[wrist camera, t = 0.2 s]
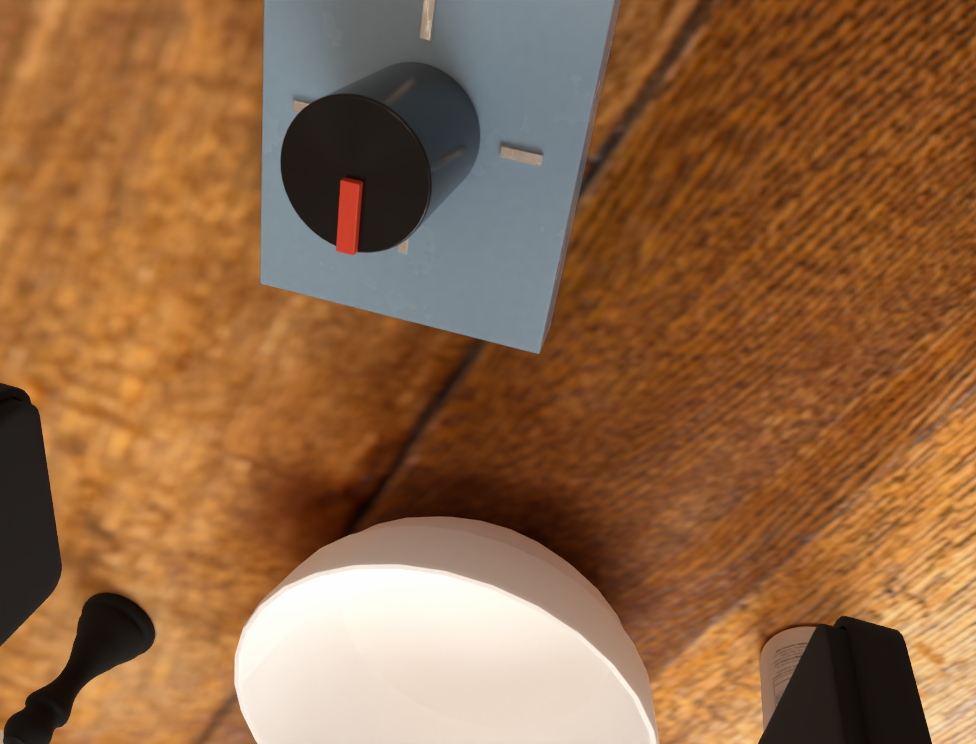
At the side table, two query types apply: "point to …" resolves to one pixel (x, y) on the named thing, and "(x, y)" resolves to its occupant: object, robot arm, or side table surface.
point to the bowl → (440, 645)
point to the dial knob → (379, 156)
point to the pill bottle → (780, 665)
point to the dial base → (490, 184)
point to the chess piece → (83, 665)
